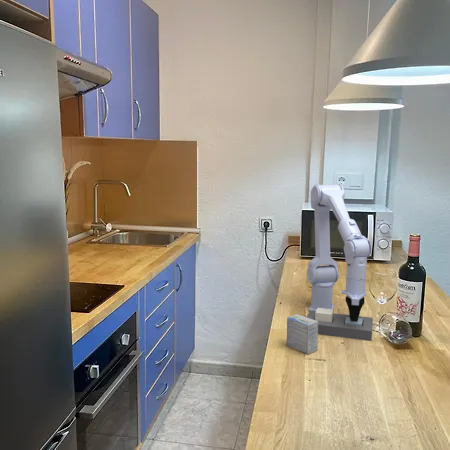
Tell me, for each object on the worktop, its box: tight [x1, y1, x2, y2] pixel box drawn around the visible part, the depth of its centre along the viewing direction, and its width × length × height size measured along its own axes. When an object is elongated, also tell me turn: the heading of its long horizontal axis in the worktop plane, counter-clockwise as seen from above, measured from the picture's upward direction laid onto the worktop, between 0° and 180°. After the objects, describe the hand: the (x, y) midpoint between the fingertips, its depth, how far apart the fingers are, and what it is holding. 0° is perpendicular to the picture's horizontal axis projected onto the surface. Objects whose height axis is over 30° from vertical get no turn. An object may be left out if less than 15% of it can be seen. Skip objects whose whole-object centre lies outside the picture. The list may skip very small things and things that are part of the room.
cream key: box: [315, 308, 334, 323], centre depth 147 cm, size 5×5×3 cm
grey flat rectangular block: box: [306, 310, 374, 342], centre depth 145 cm, size 12×20×3 cm, turn 71°
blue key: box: [345, 317, 363, 326], centre depth 144 cm, size 5×5×3 cm
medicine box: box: [286, 313, 319, 355], centre depth 131 cm, size 8×4×9 cm, turn 41°
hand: (353, 320), depth 144 cm, fingers closed, pressing on blue key
